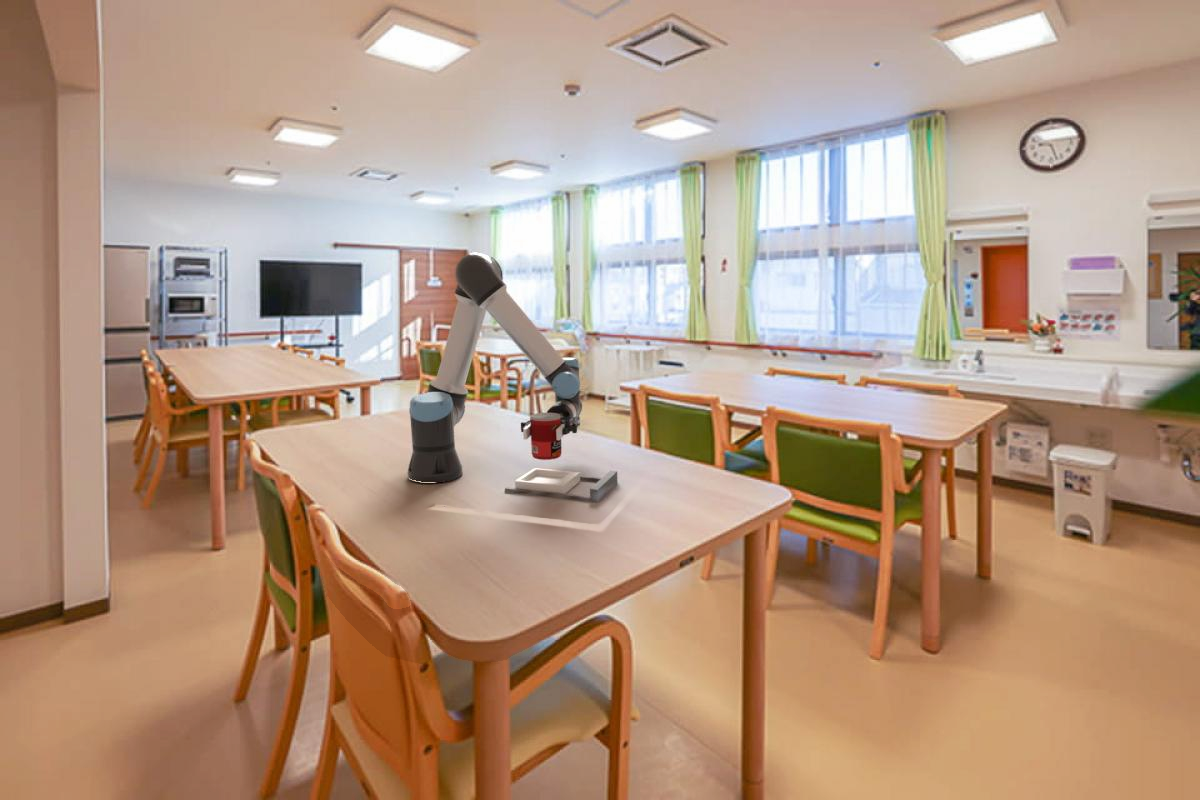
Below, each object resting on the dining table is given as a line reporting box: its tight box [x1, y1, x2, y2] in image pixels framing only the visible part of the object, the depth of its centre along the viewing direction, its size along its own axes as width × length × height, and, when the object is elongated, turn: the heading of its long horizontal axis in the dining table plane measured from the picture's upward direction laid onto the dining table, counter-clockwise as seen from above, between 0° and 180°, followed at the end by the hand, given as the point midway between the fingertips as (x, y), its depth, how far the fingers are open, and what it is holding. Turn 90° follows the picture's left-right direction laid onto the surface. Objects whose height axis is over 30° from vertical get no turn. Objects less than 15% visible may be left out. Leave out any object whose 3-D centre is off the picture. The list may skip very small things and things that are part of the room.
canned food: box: [530, 412, 562, 461], centre depth 160 cm, size 8×8×11 cm
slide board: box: [504, 470, 618, 503], centre depth 160 cm, size 27×16×4 cm, turn 71°
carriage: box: [514, 467, 581, 494], centre depth 162 cm, size 14×12×2 cm
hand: (541, 434), depth 155 cm, fingers closed on canned food, 8 cm apart
